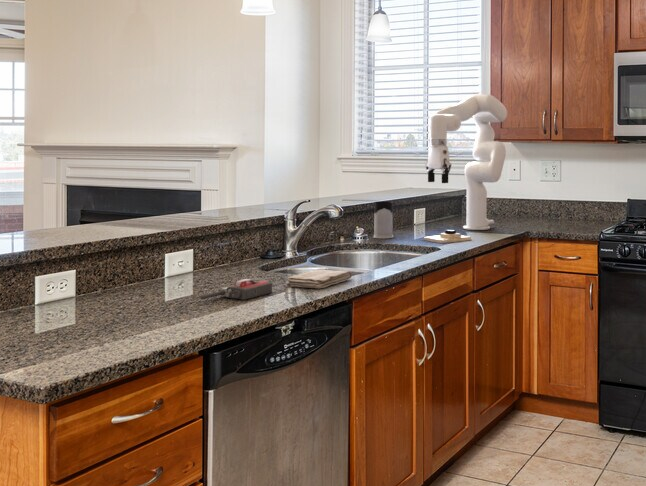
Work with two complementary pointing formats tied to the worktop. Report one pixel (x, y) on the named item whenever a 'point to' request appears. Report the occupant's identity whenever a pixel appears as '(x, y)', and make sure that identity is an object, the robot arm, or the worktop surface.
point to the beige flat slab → (447, 238)
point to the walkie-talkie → (244, 289)
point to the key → (450, 231)
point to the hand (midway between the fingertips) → (438, 182)
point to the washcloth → (318, 278)
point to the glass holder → (383, 220)
